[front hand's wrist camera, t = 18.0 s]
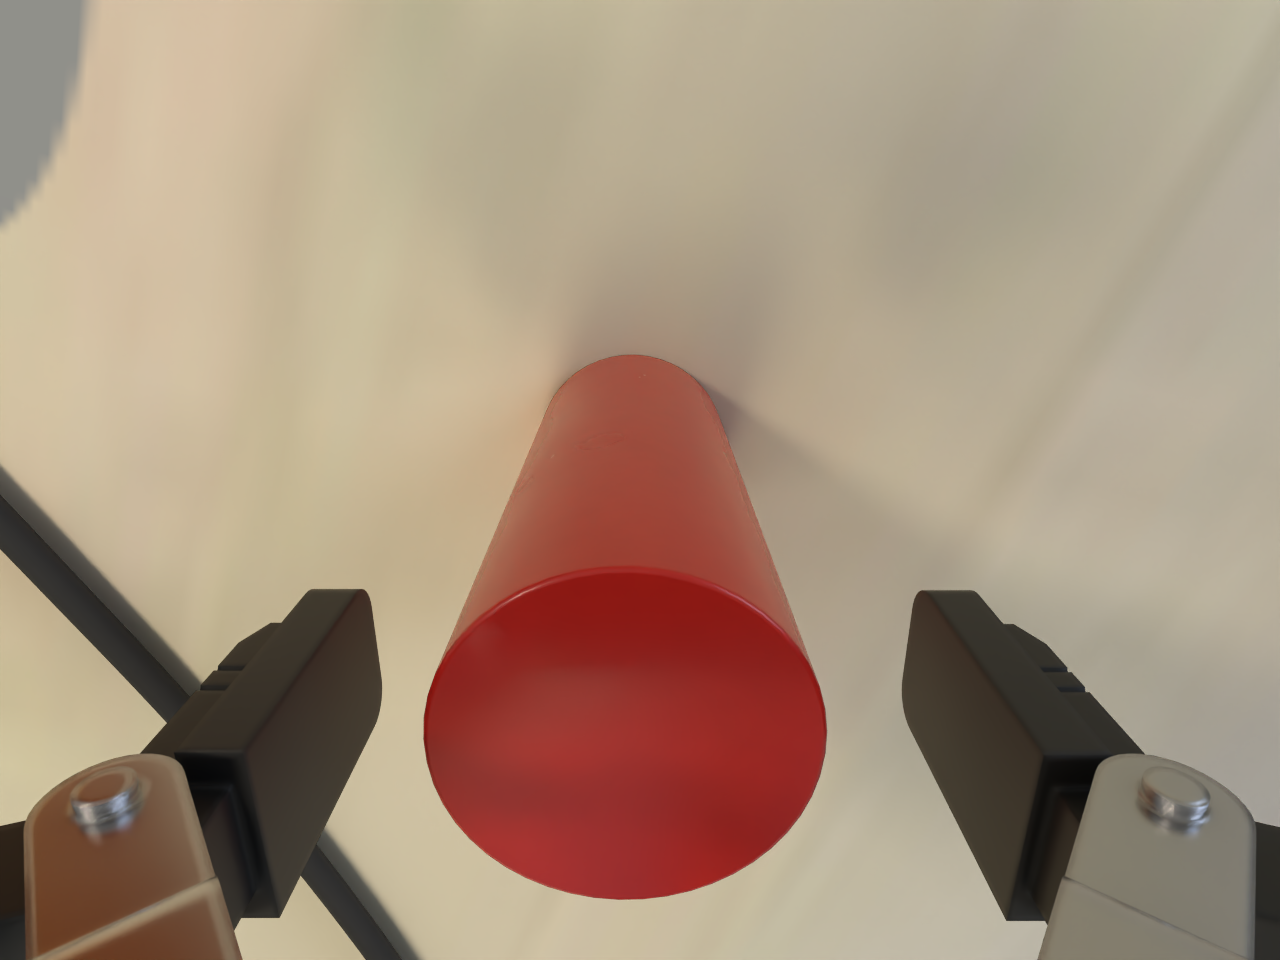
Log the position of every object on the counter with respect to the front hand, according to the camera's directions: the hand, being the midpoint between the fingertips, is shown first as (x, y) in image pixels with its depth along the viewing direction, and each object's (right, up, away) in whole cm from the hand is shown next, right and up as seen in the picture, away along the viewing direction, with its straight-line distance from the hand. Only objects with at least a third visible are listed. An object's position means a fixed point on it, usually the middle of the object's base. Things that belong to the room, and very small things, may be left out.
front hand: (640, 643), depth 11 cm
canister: (0, +3, +9) cm, 10 cm away
